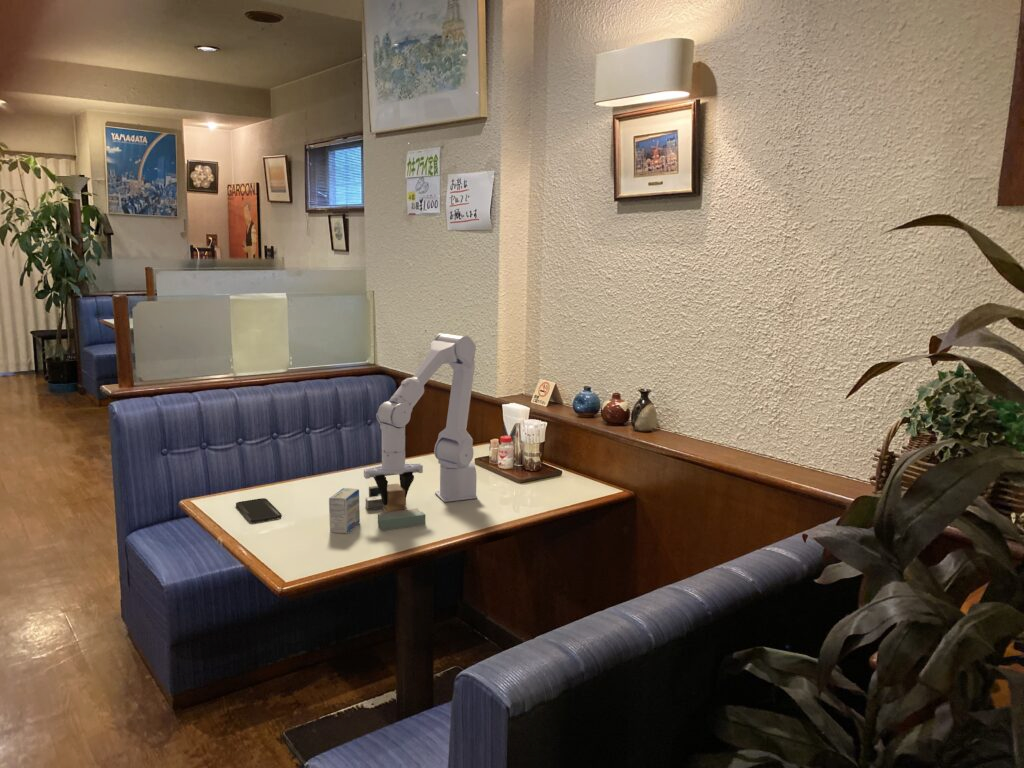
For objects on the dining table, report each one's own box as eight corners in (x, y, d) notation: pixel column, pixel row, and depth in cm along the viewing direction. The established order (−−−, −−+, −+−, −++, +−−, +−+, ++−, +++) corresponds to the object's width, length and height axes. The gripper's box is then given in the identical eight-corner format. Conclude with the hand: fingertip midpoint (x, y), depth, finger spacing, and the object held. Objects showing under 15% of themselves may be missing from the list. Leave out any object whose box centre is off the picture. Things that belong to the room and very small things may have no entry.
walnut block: (398, 506, 195) (398, 483, 194) (405, 513, 190) (405, 490, 189) (382, 507, 194) (382, 485, 193) (389, 515, 188) (389, 492, 187)
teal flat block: (419, 517, 191) (419, 508, 191) (425, 524, 187) (425, 514, 186) (375, 523, 187) (375, 513, 186) (381, 530, 182) (381, 520, 182)
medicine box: (347, 534, 179) (346, 499, 178) (329, 532, 180) (328, 497, 179) (360, 522, 187) (359, 488, 185) (343, 521, 188) (342, 487, 186)
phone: (265, 497, 201) (282, 515, 189) (265, 501, 201) (282, 519, 189) (234, 502, 197) (250, 520, 184) (234, 506, 197) (250, 525, 185)
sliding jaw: (396, 494, 208) (396, 483, 207) (406, 505, 200) (405, 493, 199) (359, 499, 203) (359, 487, 203) (368, 510, 195) (367, 498, 195)
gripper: (368, 457, 182) (369, 511, 185) (426, 451, 188) (426, 504, 191) (361, 449, 189) (362, 502, 191) (417, 444, 195) (417, 495, 197)
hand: (393, 502), depth 192 cm, fingers closed on walnut block, 4 cm apart
